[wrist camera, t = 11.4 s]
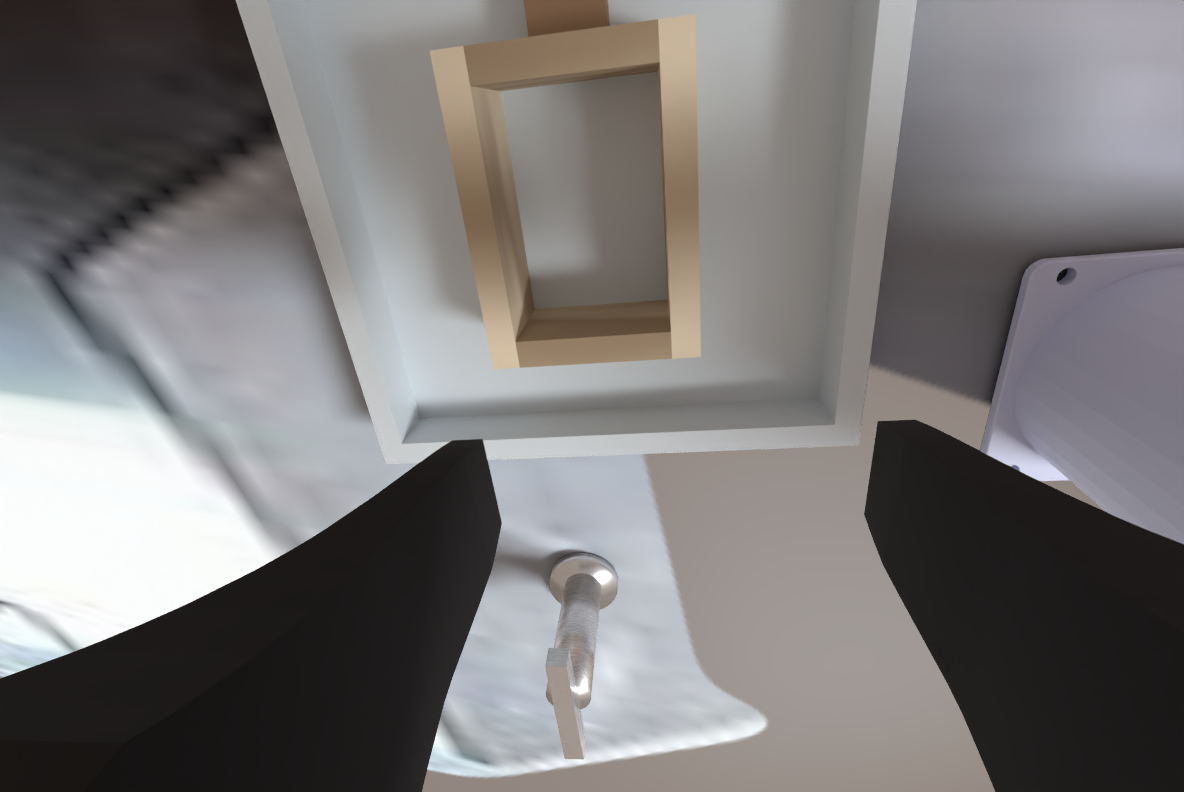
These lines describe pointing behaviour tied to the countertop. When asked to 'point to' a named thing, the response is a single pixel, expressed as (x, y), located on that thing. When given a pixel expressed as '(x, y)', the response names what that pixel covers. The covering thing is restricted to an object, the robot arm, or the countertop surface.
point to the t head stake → (576, 641)
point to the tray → (601, 220)
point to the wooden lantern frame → (489, 200)
